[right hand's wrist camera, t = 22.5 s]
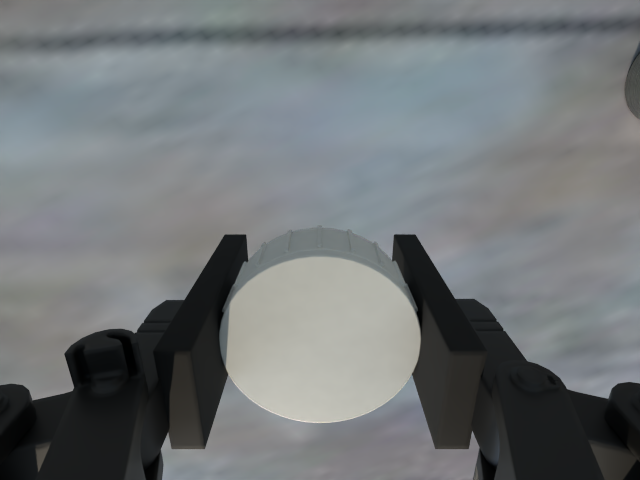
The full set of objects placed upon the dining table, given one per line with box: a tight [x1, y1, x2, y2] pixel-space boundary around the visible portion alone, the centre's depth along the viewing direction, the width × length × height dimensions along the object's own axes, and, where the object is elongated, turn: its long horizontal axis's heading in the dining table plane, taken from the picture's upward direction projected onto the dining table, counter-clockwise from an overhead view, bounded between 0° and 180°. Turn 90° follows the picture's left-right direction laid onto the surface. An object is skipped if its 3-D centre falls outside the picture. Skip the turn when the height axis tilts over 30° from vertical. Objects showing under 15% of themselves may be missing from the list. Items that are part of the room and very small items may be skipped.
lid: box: [219, 226, 421, 423], centre depth 11 cm, size 5×5×2 cm
